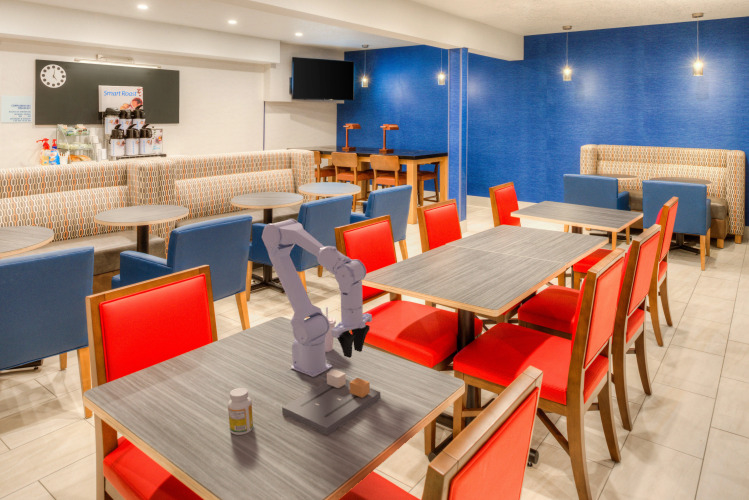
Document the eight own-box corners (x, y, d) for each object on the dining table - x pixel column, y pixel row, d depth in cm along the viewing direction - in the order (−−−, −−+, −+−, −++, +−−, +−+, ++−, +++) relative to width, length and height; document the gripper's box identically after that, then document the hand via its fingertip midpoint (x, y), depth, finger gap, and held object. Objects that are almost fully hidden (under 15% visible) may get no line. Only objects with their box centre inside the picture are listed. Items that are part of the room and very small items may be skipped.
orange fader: (350, 392, 134) (349, 382, 133) (357, 388, 136) (357, 377, 135) (362, 397, 131) (361, 386, 131) (369, 392, 134) (369, 382, 133)
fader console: (282, 414, 129) (282, 406, 129) (337, 382, 144) (336, 375, 144) (327, 435, 120) (327, 427, 120) (380, 399, 135) (380, 392, 135)
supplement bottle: (239, 438, 120) (235, 400, 117) (225, 430, 123) (221, 392, 121) (258, 427, 124) (255, 391, 121) (244, 420, 127) (241, 383, 125)
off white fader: (327, 383, 139) (326, 373, 138) (334, 379, 141) (334, 369, 140) (338, 388, 136) (337, 377, 135) (345, 383, 138) (345, 373, 138)
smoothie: (333, 354, 161) (332, 311, 158) (313, 352, 163) (311, 310, 159) (339, 345, 168) (337, 304, 164) (319, 344, 169) (318, 303, 165)
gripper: (345, 317, 131) (346, 367, 134) (380, 301, 142) (381, 347, 145) (324, 311, 135) (326, 360, 139) (360, 296, 146) (361, 341, 150)
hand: (353, 353), depth 142 cm, fingers open, 4 cm apart
